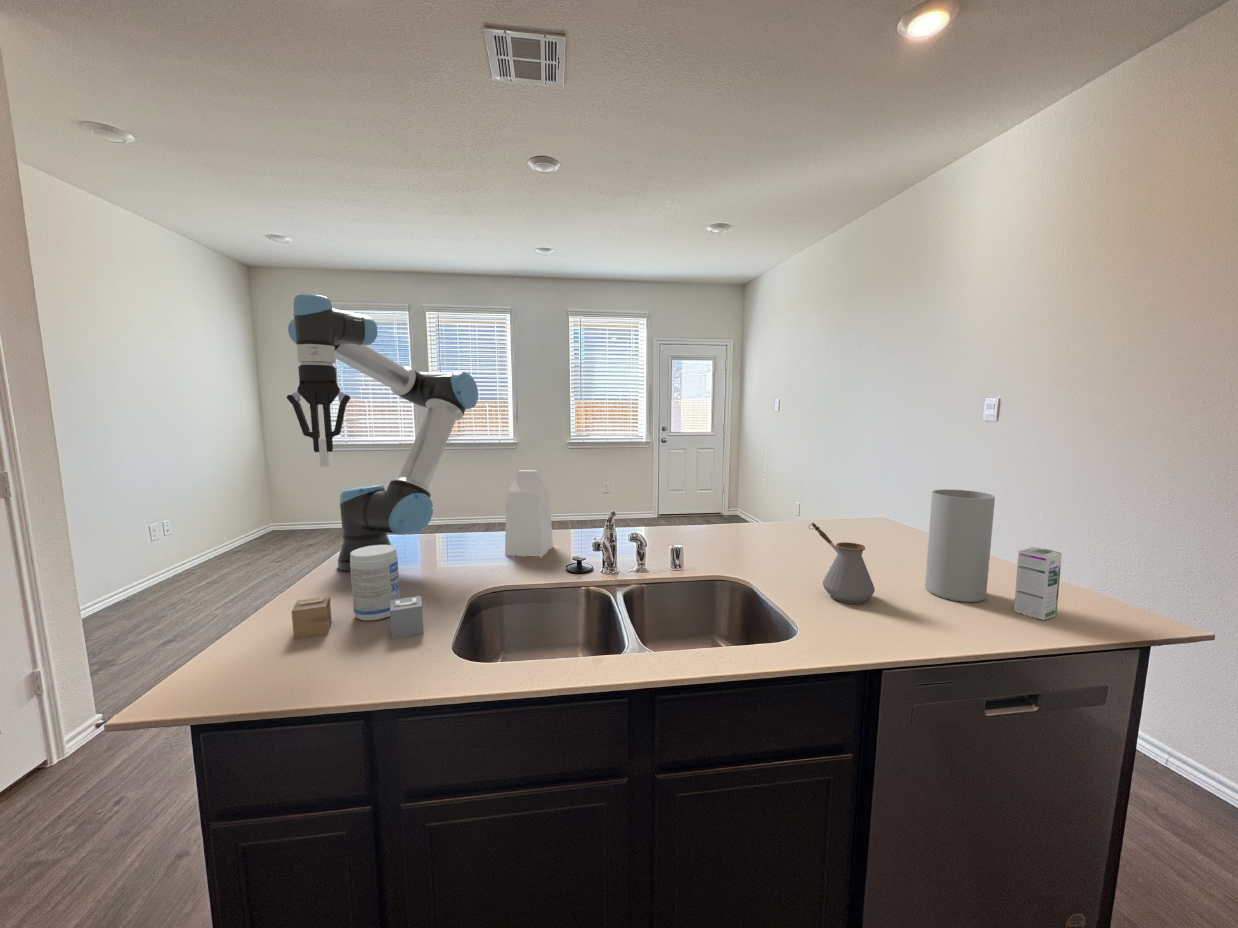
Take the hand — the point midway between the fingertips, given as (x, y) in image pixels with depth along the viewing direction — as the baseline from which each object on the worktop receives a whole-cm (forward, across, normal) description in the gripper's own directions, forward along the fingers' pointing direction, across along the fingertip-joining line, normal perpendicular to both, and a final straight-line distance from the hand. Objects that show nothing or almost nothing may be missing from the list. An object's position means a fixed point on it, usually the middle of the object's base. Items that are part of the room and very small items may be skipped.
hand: (324, 465), depth 119 cm
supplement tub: (+33, +10, -15) cm, 37 cm away
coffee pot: (+33, +115, -47) cm, 128 cm away
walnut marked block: (+33, -2, -19) cm, 38 cm away
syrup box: (+33, +144, -76) cm, 166 cm away
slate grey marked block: (+33, +16, -27) cm, 45 cm away
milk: (+33, +53, +18) cm, 65 cm away
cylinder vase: (+33, +140, -61) cm, 156 cm away
